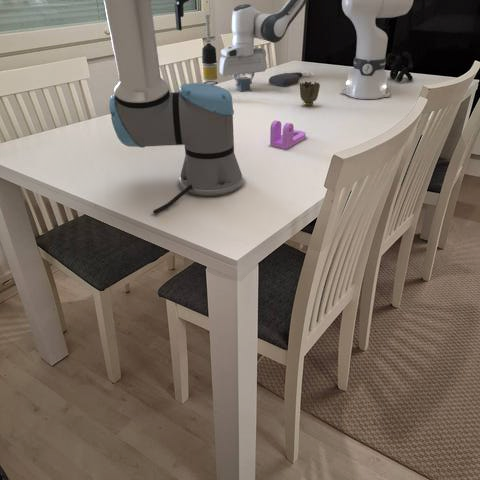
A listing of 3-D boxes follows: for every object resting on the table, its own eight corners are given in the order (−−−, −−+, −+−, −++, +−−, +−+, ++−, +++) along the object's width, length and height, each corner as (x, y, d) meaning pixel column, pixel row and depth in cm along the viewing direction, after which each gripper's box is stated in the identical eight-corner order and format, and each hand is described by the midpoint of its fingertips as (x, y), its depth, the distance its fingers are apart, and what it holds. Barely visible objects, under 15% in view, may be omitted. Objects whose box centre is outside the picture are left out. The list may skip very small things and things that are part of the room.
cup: (295, 106, 166) (296, 84, 162) (302, 102, 172) (303, 80, 168) (314, 109, 163) (316, 86, 159) (321, 104, 169) (322, 82, 165)
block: (246, 88, 193) (245, 76, 190) (250, 90, 190) (250, 78, 187) (237, 89, 192) (236, 77, 189) (241, 91, 188) (241, 79, 186)
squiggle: (400, 92, 202) (376, 71, 205) (417, 76, 202) (392, 56, 205) (405, 81, 191) (380, 59, 194) (423, 64, 191) (397, 42, 194)
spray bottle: (266, 83, 198) (296, 74, 214) (286, 87, 192) (316, 77, 208) (266, 76, 197) (297, 68, 213) (287, 80, 191) (316, 71, 207)
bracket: (286, 149, 129) (287, 125, 125) (270, 145, 132) (270, 122, 128) (308, 136, 138) (309, 114, 134) (292, 133, 141) (294, 111, 137)
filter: (220, 99, 177) (217, 15, 161) (206, 100, 176) (202, 16, 160) (215, 96, 182) (212, 14, 166) (202, 97, 180) (197, 14, 164)
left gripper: (187, -58, 123) (193, 27, 134) (95, -58, 115) (109, 33, 126) (196, -59, 117) (201, 29, 128) (100, -59, 109) (114, 36, 120)
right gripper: (262, 46, 188) (262, 80, 195) (217, 50, 181) (218, 85, 188) (269, 48, 183) (268, 83, 190) (223, 52, 176) (224, 88, 184)
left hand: (156, 31), depth 127 cm, fingers open, 13 cm apart
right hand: (243, 84), depth 189 cm, fingers closed on block, 4 cm apart
